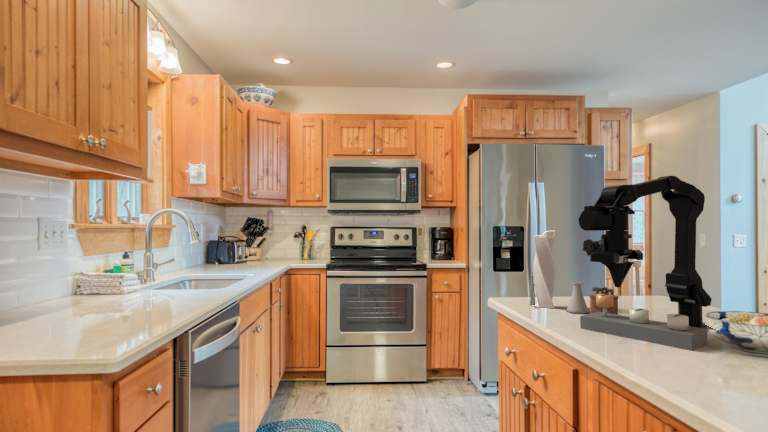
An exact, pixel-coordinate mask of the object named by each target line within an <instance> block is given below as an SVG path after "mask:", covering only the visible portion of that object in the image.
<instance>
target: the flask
mask: <svg viewBox="0 0 768 432" xmlns="http://www.w3.org/2000/svg"><path fill="white" fill-rule="evenodd" d="M571 284H572V293H571V297H570V299H569V302H568V306H567V308H566V312H569V313H572V314H573V313H574V314H590V313H589V312H590V309H589V308H588V305H587V302H586V299H585V297H584V295H583V289H582V285H583V282H580V281H572V282H571Z"/></svg>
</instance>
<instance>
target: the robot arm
mask: <svg viewBox="0 0 768 432" xmlns="http://www.w3.org/2000/svg"><path fill="white" fill-rule="evenodd" d="M658 193H660V194H661V197H662V199H663V200H664V201H666V202H667V203H668V207H669V211H670V213H671V214H672V216H673V218H674V219H675V222H674V223H675V225H674V227H675V229H674V231H675V232H674V234H675V235H674V267H673V269H672V270H671V271H670V272H666V273H665V284H664V287H666V288H665V289H666V293H667V294H668V297H669V299H670V302H672V303H677V309H678V310H677V311H678V312H677V313H678V314H681V315H685V316H688V317H689V326H691V327H697V328H703V327H706V326H705V323H706V322H703V319H704V318H703V308H704V307H710V306H711V303H712V300H713V299H712V297H711V296H710V295H709V293H708V292H707V291H706V290H705V289H704V288H703V279H702V277H701V275H700V274H699V273H698V271H697V269H696V256H697V255H696V250H697V249H696V247H697V243H696V242H697V219H698V218H699V217H700V215H701V214H702V212H703V211H704V206H705V200H706V197H705V193H703V192H702V190H700V189H699V188H697V187H696V186H695V185H693V184H691V183H689V182H686V181H683V180H681V179H680V178H679V177H678V176H676V175H664V176H659V177H658V178H652V179H650V180H646V181H642V182H637V183H634V184H620V185H612V186H606V187H603V188H602V191H601V192H600V195H599V197H598V198H597V199H596V202H595V203H594V205H585V206H583V211H582V212H581V213H580V215H579V217H578V224H579V227H580V228H581V230H583V231H587V232H591V231H592V232H597V231H598V232H601V231H602V232H604V231H605V233H604V234H603V233H602V234H601V236H600V240H595V241H593V239H585V240H583V243H582V247H583V248H582V251H583V252H585V253H586V256H587V257H589V261H590V262H591V263H592V262H593V263H601V264H602V265H604V266H605V267H606V268H607V269H608V271H609V273H610V276H611V279H612V281H613V285H614V287H615V288H621V287H622V285H623V283H624V281H625V278H626V277H627V275H628V274H629V271H630V269H631V267H632V266H633V265H634V264H635V263H634V261H629V260H637V261H643V260H644V253H643V252H642V250H640V249H631V248H630V242H629V241H630V240H629V239H632V236H633V234H630V232H629V229H630V227H629V225H630V224H629V215H635V213H636V211H634V210H633V209H632V208H630V206H629V205H631V204H633V203H635V202H636V201H638V199H640V198H642V197H646V196H650V195H653V194H658Z"/></svg>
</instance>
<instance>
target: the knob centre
mask: <svg viewBox="0 0 768 432" xmlns="http://www.w3.org/2000/svg"><path fill="white" fill-rule="evenodd" d="M628 311H629V317H630V321H631V322H635V323H649V320H650V318H649V317H650V313H649V312H650V311H649V310H648V309H644V308H629V310H628Z"/></svg>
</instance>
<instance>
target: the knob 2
mask: <svg viewBox="0 0 768 432" xmlns="http://www.w3.org/2000/svg"><path fill="white" fill-rule="evenodd" d="M666 323H667V327H668V328H671V329H676V330H689V317H688V316H685V315H681V314H677V313H668V314H666Z"/></svg>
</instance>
